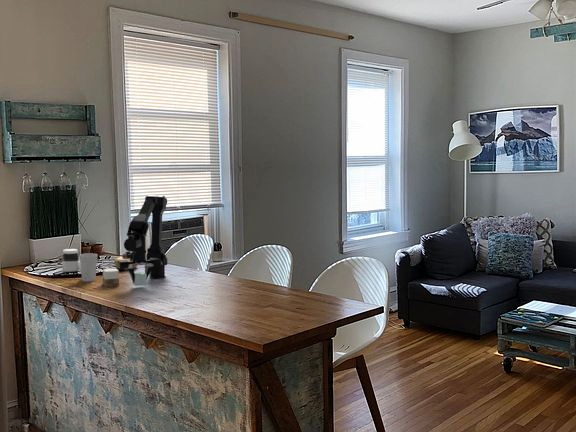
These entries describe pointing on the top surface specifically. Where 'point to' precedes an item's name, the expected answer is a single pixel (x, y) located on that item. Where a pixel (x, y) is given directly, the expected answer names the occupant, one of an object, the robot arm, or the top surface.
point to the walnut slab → (110, 282)
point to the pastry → (122, 259)
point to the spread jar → (70, 261)
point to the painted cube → (140, 279)
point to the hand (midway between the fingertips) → (139, 281)
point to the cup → (88, 266)
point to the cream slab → (110, 273)
